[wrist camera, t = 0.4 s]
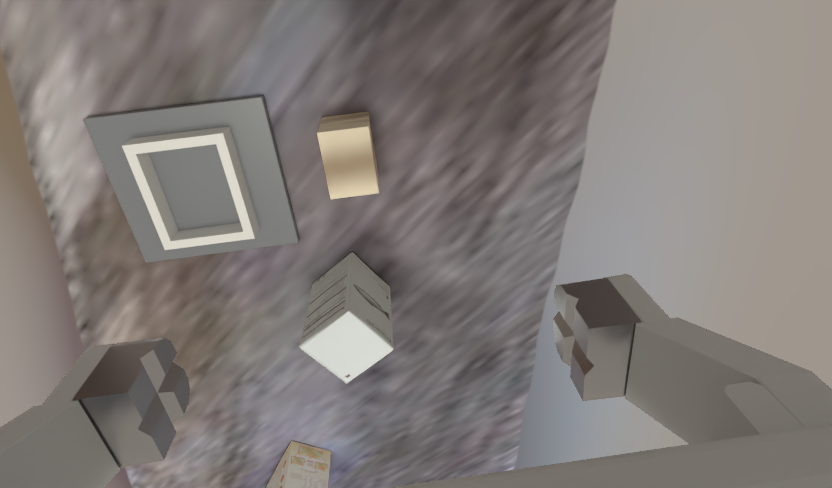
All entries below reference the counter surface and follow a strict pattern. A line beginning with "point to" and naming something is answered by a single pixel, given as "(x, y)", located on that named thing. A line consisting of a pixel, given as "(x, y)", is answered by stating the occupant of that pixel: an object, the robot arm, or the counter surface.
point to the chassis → (197, 177)
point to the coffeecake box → (302, 468)
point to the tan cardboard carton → (348, 155)
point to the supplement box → (348, 319)
